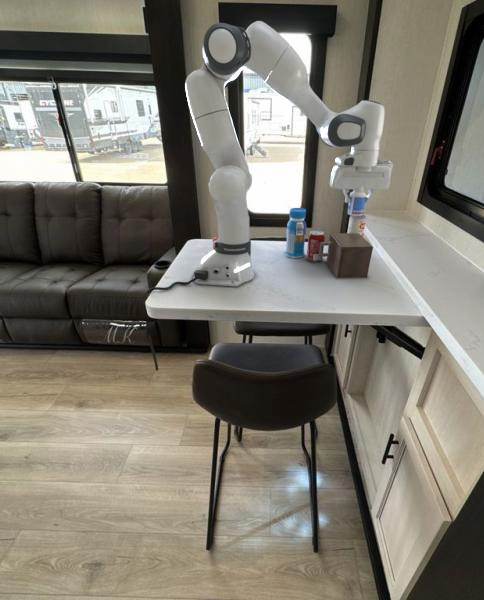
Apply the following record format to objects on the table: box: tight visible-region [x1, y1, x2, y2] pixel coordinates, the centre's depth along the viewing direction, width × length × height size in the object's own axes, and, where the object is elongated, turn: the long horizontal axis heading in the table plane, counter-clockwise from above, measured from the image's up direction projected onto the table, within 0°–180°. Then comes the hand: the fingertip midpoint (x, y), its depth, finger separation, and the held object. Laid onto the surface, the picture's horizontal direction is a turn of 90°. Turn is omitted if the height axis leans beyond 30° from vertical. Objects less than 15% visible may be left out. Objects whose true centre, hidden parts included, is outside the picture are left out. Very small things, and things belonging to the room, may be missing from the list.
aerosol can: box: [346, 213, 367, 238], centre depth 135 cm, size 7×7×20 cm
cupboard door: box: [319, 233, 343, 279], centre depth 120 cm, size 5×16×12 cm, turn 5°
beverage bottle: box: [285, 207, 307, 259], centre depth 131 cm, size 8×8×20 cm
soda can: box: [306, 230, 326, 263], centre depth 129 cm, size 7×7×12 cm
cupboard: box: [332, 232, 374, 279], centre depth 121 cm, size 11×16×13 cm
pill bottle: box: [347, 187, 367, 216], centre depth 107 cm, size 6×5×10 cm
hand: (356, 202), depth 107 cm, fingers closed on pill bottle, 5 cm apart
